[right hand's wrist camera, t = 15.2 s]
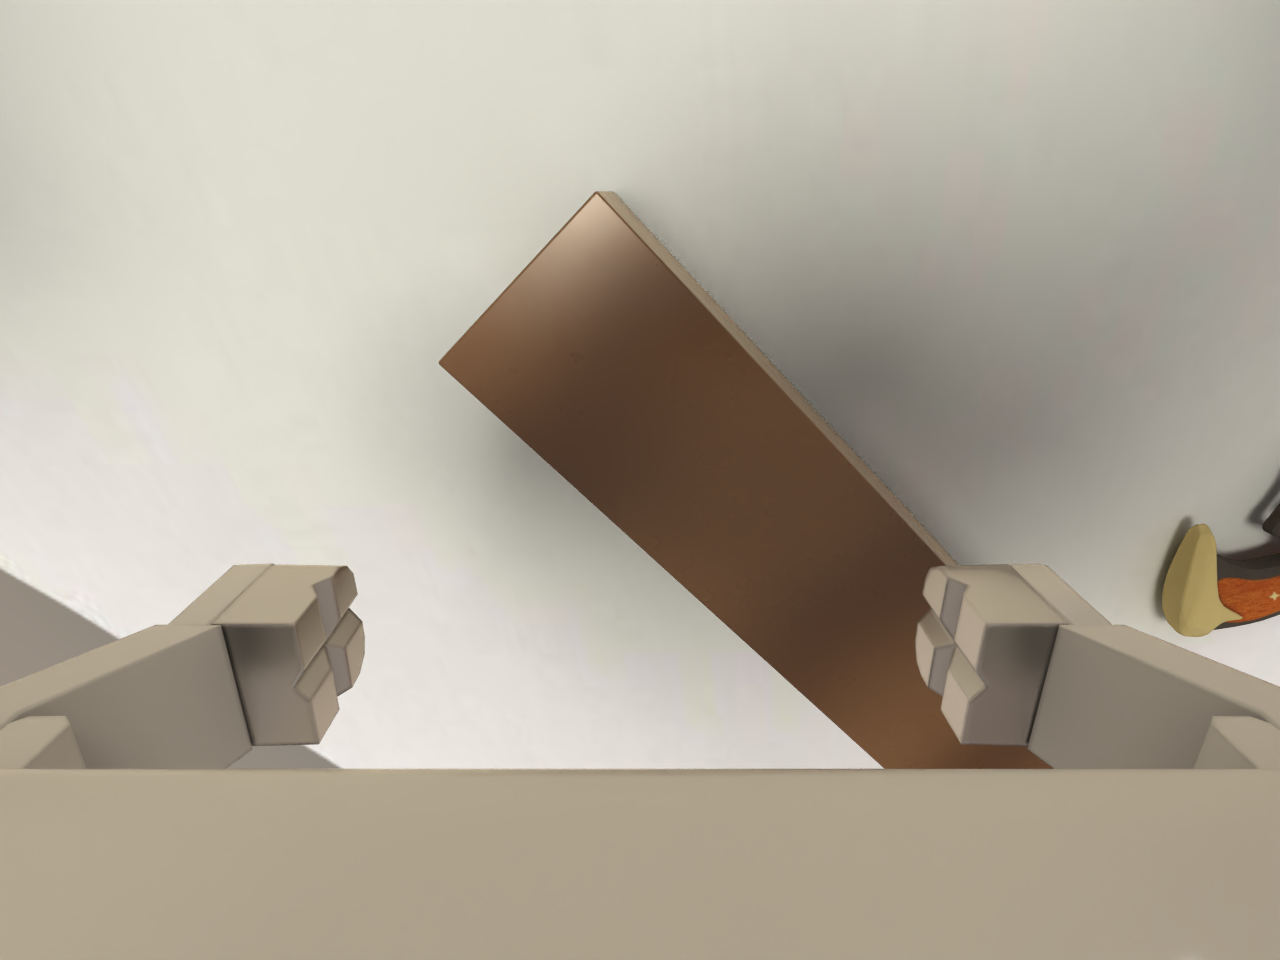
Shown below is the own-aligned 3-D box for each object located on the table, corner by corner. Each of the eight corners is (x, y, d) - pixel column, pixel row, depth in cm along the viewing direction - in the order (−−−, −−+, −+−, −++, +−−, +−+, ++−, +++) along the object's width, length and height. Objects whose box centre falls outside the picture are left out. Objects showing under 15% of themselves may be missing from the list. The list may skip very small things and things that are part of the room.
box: (507, 304, 29) (436, 363, 19) (612, 190, 27) (596, 189, 17) (909, 693, 36) (1013, 886, 26) (1011, 621, 35) (1163, 797, 25)
